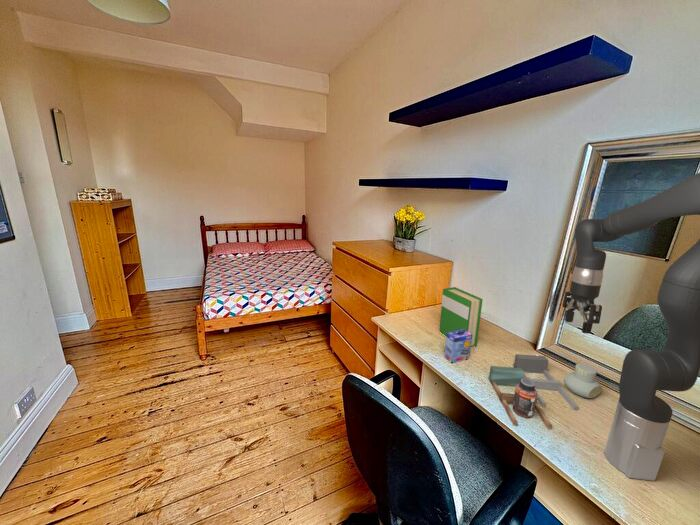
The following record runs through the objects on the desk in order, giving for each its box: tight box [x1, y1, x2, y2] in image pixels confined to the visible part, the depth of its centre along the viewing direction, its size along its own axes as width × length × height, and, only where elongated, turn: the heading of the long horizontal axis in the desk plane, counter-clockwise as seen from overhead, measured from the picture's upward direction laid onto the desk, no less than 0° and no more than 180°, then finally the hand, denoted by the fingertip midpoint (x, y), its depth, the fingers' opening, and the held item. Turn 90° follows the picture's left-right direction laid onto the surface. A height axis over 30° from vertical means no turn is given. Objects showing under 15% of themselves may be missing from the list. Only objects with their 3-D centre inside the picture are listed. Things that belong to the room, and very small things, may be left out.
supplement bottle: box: [512, 378, 538, 419], centre depth 92 cm, size 6×6×11 cm
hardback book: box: [439, 286, 483, 348], centre depth 136 cm, size 18×7×24 cm, turn 22°
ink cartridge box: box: [443, 329, 472, 363], centre depth 121 cm, size 10×6×14 cm, turn 111°
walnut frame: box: [488, 365, 553, 430], centre depth 97 cm, size 23×11×6 cm, turn 172°
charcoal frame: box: [512, 353, 579, 411], centre depth 105 cm, size 23×11×6 cm, turn 172°
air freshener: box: [563, 363, 603, 399], centre depth 102 cm, size 11×8×10 cm
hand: (576, 327), depth 95 cm, fingers open, 8 cm apart
